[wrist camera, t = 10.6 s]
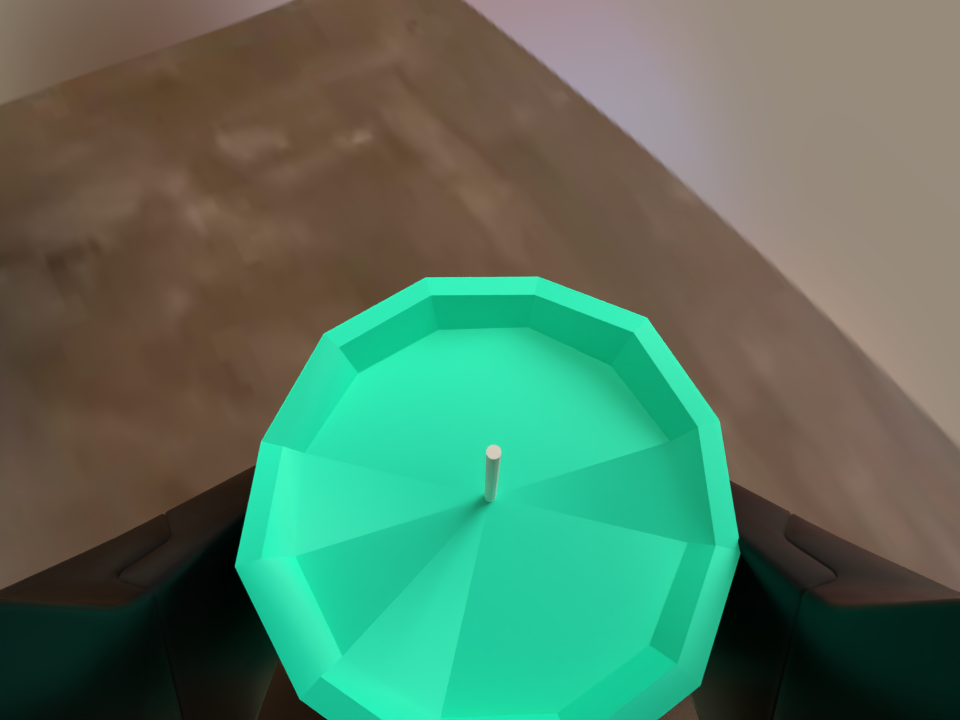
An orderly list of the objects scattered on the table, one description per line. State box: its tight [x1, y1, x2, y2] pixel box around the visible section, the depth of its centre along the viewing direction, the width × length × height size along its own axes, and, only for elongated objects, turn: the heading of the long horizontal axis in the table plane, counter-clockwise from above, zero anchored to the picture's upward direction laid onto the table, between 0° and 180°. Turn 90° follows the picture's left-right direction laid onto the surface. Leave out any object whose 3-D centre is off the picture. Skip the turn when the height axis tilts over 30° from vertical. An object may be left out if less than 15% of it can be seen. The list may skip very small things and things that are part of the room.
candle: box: [235, 277, 741, 720], centre depth 11 cm, size 6×6×12 cm
